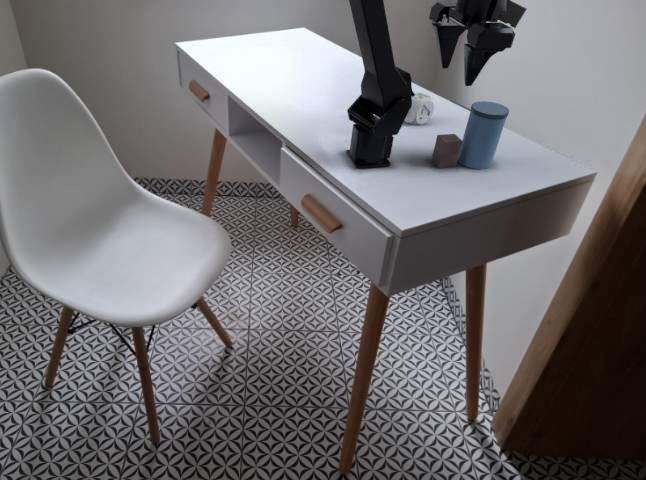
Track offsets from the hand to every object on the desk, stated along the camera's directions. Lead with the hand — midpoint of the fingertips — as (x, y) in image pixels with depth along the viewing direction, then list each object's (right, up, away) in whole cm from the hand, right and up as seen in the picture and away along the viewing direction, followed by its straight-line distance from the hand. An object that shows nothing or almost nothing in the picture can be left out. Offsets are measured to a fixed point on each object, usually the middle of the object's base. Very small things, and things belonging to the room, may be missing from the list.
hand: (456, 76), depth 91 cm
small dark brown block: (-2, -15, +2) cm, 15 cm away
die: (-3, -2, +17) cm, 18 cm away
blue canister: (+1, -14, +2) cm, 14 cm away
